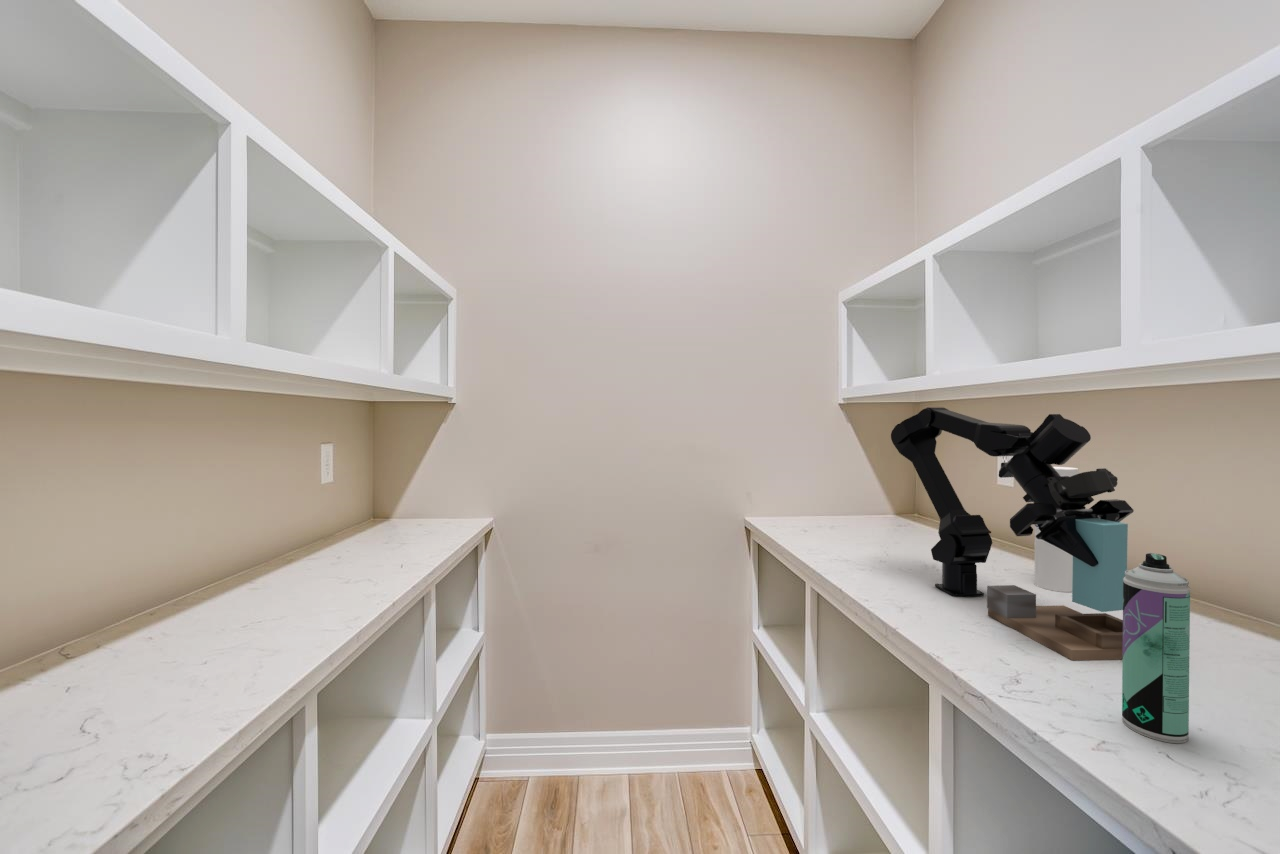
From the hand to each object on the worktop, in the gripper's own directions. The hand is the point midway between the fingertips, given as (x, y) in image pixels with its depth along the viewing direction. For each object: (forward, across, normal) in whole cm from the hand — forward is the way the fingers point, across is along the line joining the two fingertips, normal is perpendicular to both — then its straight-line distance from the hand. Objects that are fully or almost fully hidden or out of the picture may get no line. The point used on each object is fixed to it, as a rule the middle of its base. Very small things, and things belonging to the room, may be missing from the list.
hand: (1108, 564), depth 81 cm
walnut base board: (+5, 0, +14) cm, 15 cm away
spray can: (+22, -16, -3) cm, 27 cm away
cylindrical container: (-9, +22, +29) cm, 38 cm away
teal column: (+4, 0, +6) cm, 7 cm away
